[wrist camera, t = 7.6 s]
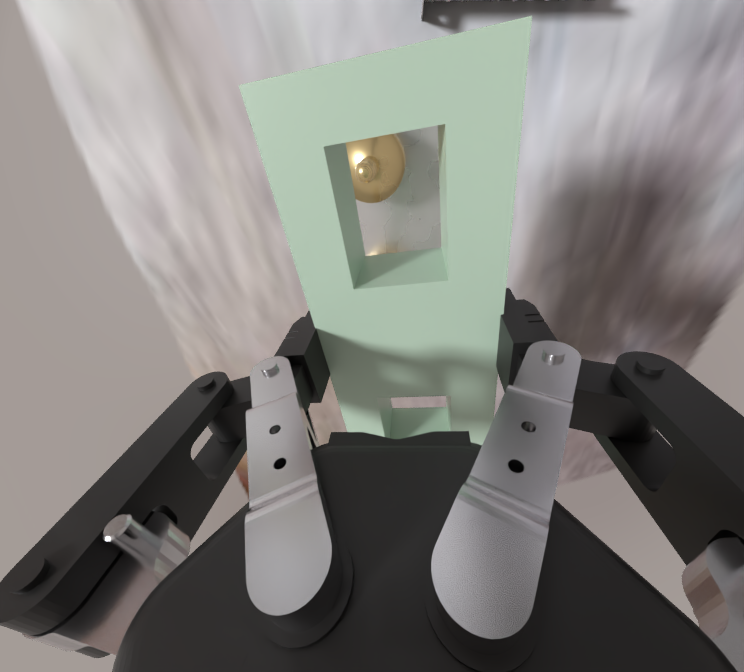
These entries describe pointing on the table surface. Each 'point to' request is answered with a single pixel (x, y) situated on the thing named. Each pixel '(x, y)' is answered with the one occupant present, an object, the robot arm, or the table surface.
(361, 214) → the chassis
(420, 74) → the board
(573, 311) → the table surface
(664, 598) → the robot arm
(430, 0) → the graphics card
